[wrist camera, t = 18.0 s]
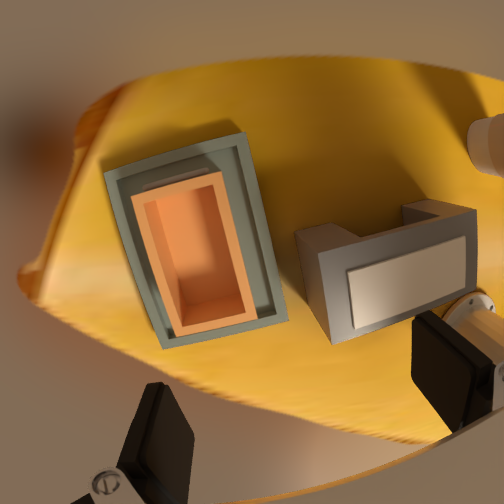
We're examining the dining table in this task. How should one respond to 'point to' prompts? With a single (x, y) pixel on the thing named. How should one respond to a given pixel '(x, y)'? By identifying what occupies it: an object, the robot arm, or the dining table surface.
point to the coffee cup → (487, 145)
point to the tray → (245, 219)
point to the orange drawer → (195, 252)
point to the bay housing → (388, 268)
